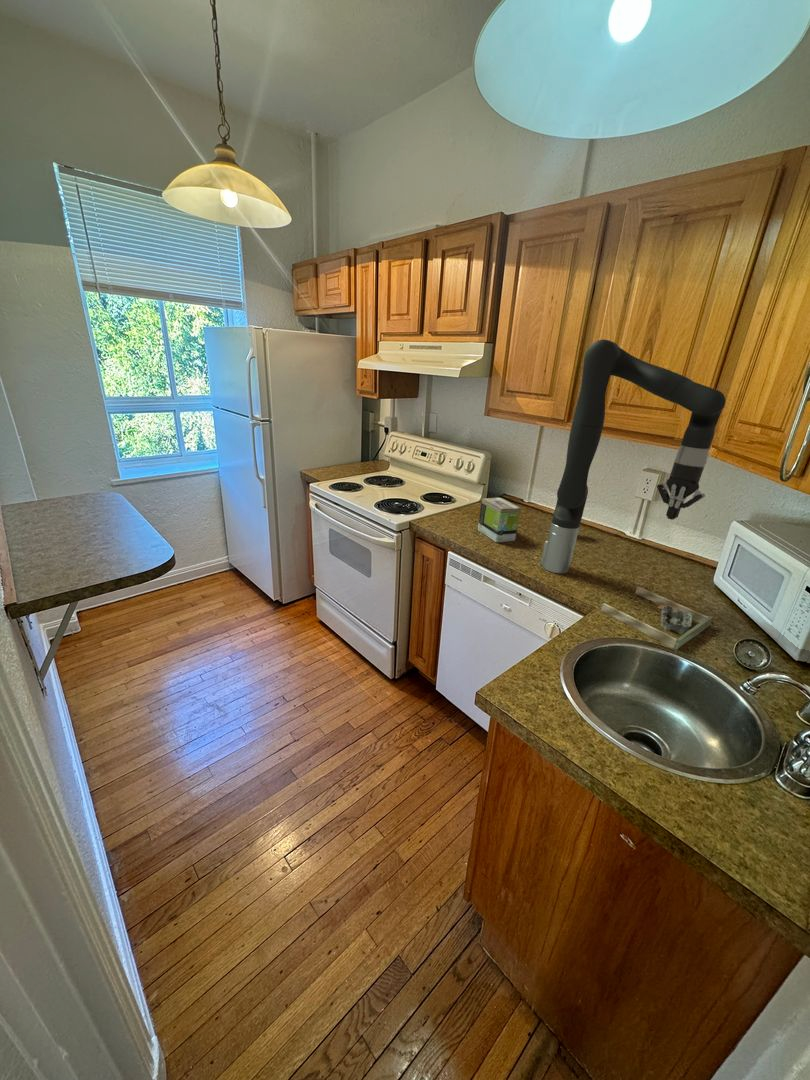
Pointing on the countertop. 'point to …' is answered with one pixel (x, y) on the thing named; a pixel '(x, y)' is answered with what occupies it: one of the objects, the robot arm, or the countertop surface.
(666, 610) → the egg carton
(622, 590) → the countertop surface
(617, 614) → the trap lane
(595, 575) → the countertop surface
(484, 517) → the tea box
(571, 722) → the countertop surface
